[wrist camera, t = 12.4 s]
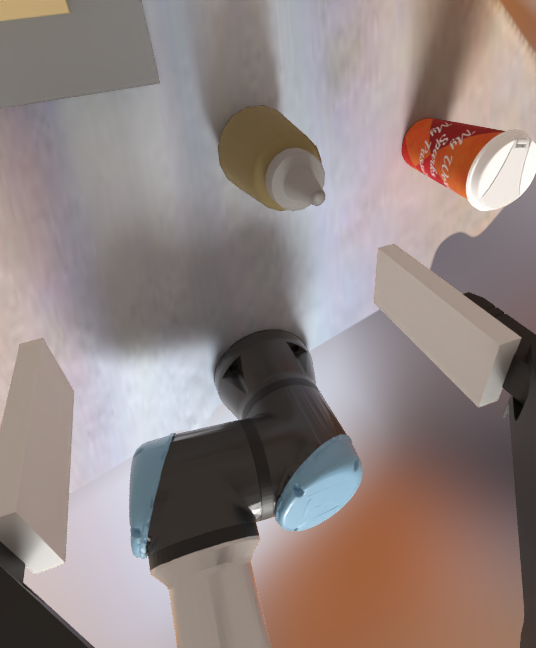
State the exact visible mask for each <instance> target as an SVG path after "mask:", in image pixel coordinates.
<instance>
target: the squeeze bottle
mask: <svg viewBox="0 0 536 648" xmlns="http://www.w3.org/2000/svg"><path fill="white" fill-rule="evenodd" d="M218 152H219V161H220V166H221V168H222V169H223V171H224V173H225V175H226V177H227V179H229V180H230V181H231V182H232V183H234V184H235V185H236V186H237V187H239V188H240V189H241V190H243V191H244V192H246V193H247V194H249V195H250V196H252V197H253V198H254V199H256V200H257V201H259V202H260V203H262V204H263V205H265V206H266V207H268V208H271V209H275V210H279V211H283V210H291V211H296V210H301V209H304V208H306V207H308V206H309V205H311V204H312V205H315V206H318V205H320V204H322V203H323V202H324V200H325V193H324V191H323V189H322V188H323V186H324V177H325V172H324V169H323V166H322V164H321V158H320V155H319V152H318V149H317V147H316V146H315V145H314V143H313V142H312V141H311V140H310V139H309V138H308V137H307V136H306V135H305V134H303V133H302V132H301V131H300V130H299V129H298V128H297V127H296V126H294V125H293V124H292V123H291V122H290V121H289V120H288V119H287V118H285V117H284V116H283V115H282V114H281V113H280V112H279V111H277V110H275V109H272V108H269V107H266V106H264V105H261V106H252V107H246V108H245V109H243V110H241V111H240V112H238V113H237V114H235V115H233V116H232V118H231V119H230V120H229V122H228V123H227V124H226V126H225V127H224V129H223V130H222V134H221V137H220V141H219V145H218Z"/></svg>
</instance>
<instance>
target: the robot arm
mask: <svg viewBox="0 0 536 648" xmlns="http://www.w3.org/2000/svg"><path fill="white" fill-rule="evenodd" d="M374 303H375V304H376V305H377V306H378V307H379V308H380V309H381V310H382V311H383V312H384V313H385V314H386V315H387V316H388V317H389V318H390V319H391V320H392V321H393V322H394V323H395V324H396V325H397V326H398V327H399V328H400V329H401V330H402V331H403V332H404V333H405V334H406V335H407V336H408V337H409V338H410V339H411V340H412V341H413V342H414V343H415V344H416V345H417V346H418V347H419V348H420V349H421V350H422V351H423V352H424V353H425V354H426V355H427V356H428V357H429V358H430V359H431V360H432V361H433V362H434V363H435V364H436V365H437V366H438V367H439V368H440V369H441V370H442V371H443V372H444V373H445V374H446V375H447V376H448V377H449V378H450V379H451V380H452V381H453V382H454V383H455V384H456V385H457V386H458V387H459V388H460V389H461V390H462V391H463V392H464V393H465V394H466V395H467V396H468V397H469V398H470V399H471V400H472V401H473V402H474V403H475V404H476V405H477V406H478V407H481V406H484V405H487V404H489V403H492V402H495V401H497V400H498V399H499V396H500V393H501V391H502V388H504V389H505V390H506V391H507V392H509V393H510V394H511V395H510V398H509V400H508V403H507V405H506V408H505V410H504V413H503V418H506V417H507V415H508V413H509V417H510V430H511V443H512V456H513V469H514V481H515V495H516V508H517V520H518V534H519V545H520V546H519V547H520V559H521V572H522V585H523V598H524V614H525V615H524V623H523V628H522V632H521V641H520V648H536V335H535V334H534V333H533V332H531V331H529V330H528V329H527V328H525V327H524V326H523V325H521V324H519V323H518V322H517V321H515V320H514V319H513V318H511V317H510V316H508V315H507V314H504V312H503V311H501V310H500V309H499V308H495V306H494V305H493V304H492V303H490V302H489V301H487V300H486V299H484V298H483V297H480V296H477V295H475V294H472V293H470V292H469V293H465V294H462V293H460V292H459V291H458V290H456V289H455V288H454V287H452V286H451V285H450V284H448V283H447V282H445V281H444V280H442V279H441V278H440V277H439V276H437V275H436V274H435V273H433V272H432V271H431V270H429V269H428V268H426V267H425V266H424V265H422V264H421V263H420V262H418V261H417V260H416V259H414V258H413V257H412V256H410V255H409V254H407V253H406V252H405V251H403V250H402V249H401V248H399V247H398V246H397V245H395V244H392V245H388V246H384V247H380V248H378V253H377V266H376V279H375V292H374ZM215 385H216V388H217V391H218V394H219V397H220V399H221V400H222V402H223V403H224V405H225V406H226V407H227V408H228V409H229V410H230V411H231V412H232V413H233V414H234V415H235V416H236V417H237V419H238V421H233V422H228V423H224V424H219V425H215V426H210V427H206V428H202V429H197V430H193V431H188V432H184V433H179V434H176V433H172V434H170V435H169V436H167V437H163V438H160V439H156V440H153V441H149V442H146V443H144V444H142V445H141V446H140V447H139V448H138V449H137V450H136V452H135V454H134V456H133V460H132V465H131V474H130V498H129V511H130V512H129V514H130V515H129V516H130V526H131V547H132V551H133V554H134V556H135V557H137V558H142V559H144V558H147V556H148V557H149V564H150V572H151V575H152V576H154V577H155V578H156V579H157V580H159V581H160V582H162V583H163V584H164V585H166V587H167V588H168V589H169V593H170V600H171V607H172V615H173V622H174V628H175V635H176V643H177V648H271V645H270V640H269V636H268V632H267V628H266V624H265V619H264V615H263V611H262V607H261V603H260V599H259V594H258V590H257V586H256V582H255V578H254V573H253V569H252V565H251V559H252V555H253V553H254V551H255V549H256V547H257V545H258V542H259V540H260V537H259V533H258V529H257V525H256V522H258V521H261V520H265V519H268V518H271V517H275V519H276V521H277V523H279V524H280V525H281V527H282V528H283V529H285V530H287V531H292V530H294V531H302V530H305V529H308V528H311V527H313V526H316V525H318V524H319V523H321V522H323V521H325V520H326V519H328V518H329V517H331V516H332V515H334V514H335V513H336V512H338V511H339V510H340V509H341V508H342V507H343V506H344V505H345V504H346V503H347V502H348V501H349V500H350V499H351V498H352V496H353V495H354V493H355V492H356V490H357V489H358V486H359V485H360V482H361V479H362V474H363V470H362V463H361V460H360V458H359V456H358V455H357V452H356V451H355V448H354V446H353V445H352V441H351V439H350V437H349V436H348V435H347V434H346V433H345V431H344V430H343V428H342V426H341V425H340V423H339V422H338V420H337V418H336V417H335V415H334V414H333V412H332V411H331V409H330V407H329V406H328V404H327V403H326V401H325V399H324V398H323V396H322V395H321V393H320V391H319V390H318V388H317V386H316V381H315V375H314V369H313V362H312V358H311V355H310V353H309V351H308V350H307V348H306V346H305V345H304V343H303V342H302V341H301V340H300V339H299V338H298V337H297V336H295V335H294V334H292V333H289V332H286V331H281V330H267V331H261V332H257V333H254V334H252V335H249V336H247V337H245V338H243V339H241V340H240V341H238V342H237V343H235V344H234V345H233V346H232V347H230V348H229V349H228V350H227V351H226V353H225V354H224V355H223V356H222V358H221V359H220V361H219V363H218V365H217V368H216V371H215ZM73 403H74V390H73V389H72V387H71V385H70V383H69V382H68V380H67V378H66V377H65V375H64V373H63V371H62V370H61V368H60V366H59V364H58V363H57V361H56V359H55V357H54V356H53V354H52V352H51V350H50V349H49V347H48V345H47V344H46V342H45V340H44V338H41V339H37V340H33V341H29V342H26V343H22V344H20V345H19V350H18V354H17V359H16V363H15V367H14V372H13V376H12V381H11V385H10V389H9V394H8V398H7V403H6V407H5V411H4V416H3V420H2V424H1V429H0V648H94V647H93V646H92V645H91V644H90V643H89V642H88V641H87V640H86V639H84V638H83V637H82V636H81V635H80V634H79V633H78V632H77V631H76V630H75V629H74V628H72V627H71V626H70V625H69V624H68V623H67V622H66V621H65V620H64V619H63V618H61V617H60V616H59V615H58V614H57V613H56V612H55V611H54V610H53V609H52V608H51V607H49V606H48V605H47V604H46V603H45V602H44V601H43V600H42V599H41V598H39V596H38V595H36V594H35V593H34V592H33V591H32V590H31V589H30V588H29V587H27V585H25V584H24V583H23V578H24V569H25V566H26V567H27V568H28V569H29V570H30V571H32V572H33V573H34V574H38V573H40V572H43V571H46V570H48V569H51V568H54V567H56V566H59V565H62V564H64V563H65V558H66V539H67V520H68V500H69V481H70V462H71V442H72V423H73Z"/></svg>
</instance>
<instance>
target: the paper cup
mask: <svg viewBox="0 0 536 648" xmlns="http://www.w3.org/2000/svg"><path fill="white" fill-rule="evenodd" d="M402 155H403V158H404V160H405V161H406V163H407V164H409V165H410V166H412V167H413V168H415V169H416V170H418V171H420V172H421V173H423V174H425V175H426V176H428V177H430V178H432V179H433V180H435V181H437V182H438V183H440V184H442V185H444V186H445V187H447V188H449V189H451V190H452V191H454V192H456V193H458V194H459V195H461V196H463V197H465V198H466V199H468V201H469V202H470V204H471V205H472V206H474V207H475V208H477V209H479V210H480V211H487V210H495V209H498V208H501V207H504V206H506V205H508V204H510V203H511V202H513V201H514V200H516V199H517V198H518V197H519V196H520V195H522V194H523V192H524V191H525V190H526V189H527V187H528V186H529V185H530V183H531V181H532V180H533V178H534V175H535V173H536V144H535V142H534V141H533V140H532V139H531V138H530V137H529V135H528V134H527V133H525V132H524V131H521V130H516V129H515V130H508V131H502V130H496V129H490V128H485V127H479V126H474V125H468V124H463V123H457V122H451V121H446V120H439V119H432V118H426V119H422V120H419V121H418V122H416V123H415V124H414V125H413V126H412V127H411V128H410V129H409V130H408V132H407V133H406V135H405V138H404V140H403V144H402Z"/></svg>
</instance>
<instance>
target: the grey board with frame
mask: <svg viewBox="0 0 536 648" xmlns="http://www.w3.org/2000/svg"><path fill="white" fill-rule="evenodd" d="M158 83H160V81H159V77H158V73H157V68H156V64H155V59H154V55H153V51H152V46H151V42H150V37H149V33H148V29H147V24H146V20H145V15H144V11H143V7H142V2H141V0H0V108H6V107H13V106H19V105H25V104H32V103H38V102H44V101H51V100H57V99H63V98H70V97H76V96H82V95H89V94H95V93H101V92H108V91H114V90H120V89H127V88H133V87H139V86H146V85H152V84H158Z"/></svg>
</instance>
